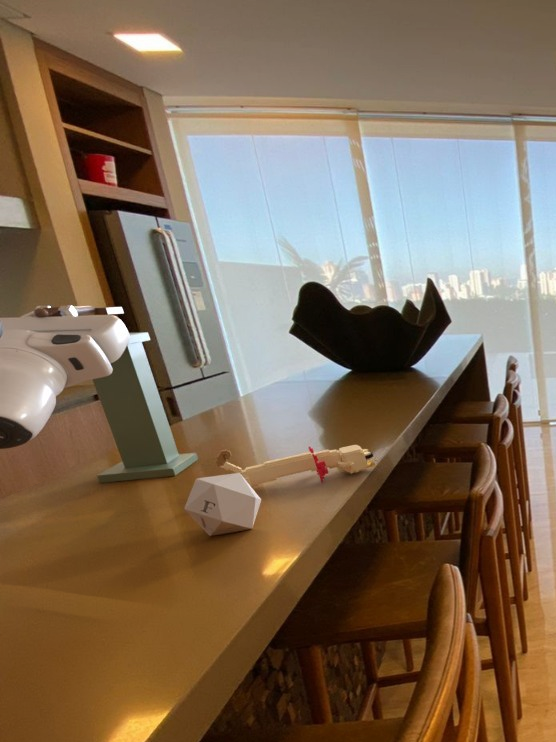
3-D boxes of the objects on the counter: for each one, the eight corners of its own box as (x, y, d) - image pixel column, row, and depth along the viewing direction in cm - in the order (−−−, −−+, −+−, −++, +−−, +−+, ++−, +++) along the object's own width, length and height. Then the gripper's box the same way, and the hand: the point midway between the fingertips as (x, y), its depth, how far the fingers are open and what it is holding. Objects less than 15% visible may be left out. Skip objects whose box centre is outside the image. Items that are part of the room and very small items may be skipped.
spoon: (58, 318, 88) (54, 307, 87) (22, 319, 86) (18, 308, 86) (124, 313, 107) (121, 304, 106) (95, 314, 105) (92, 305, 105)
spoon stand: (95, 485, 104) (37, 339, 95) (130, 465, 116) (81, 333, 107) (172, 478, 108) (124, 336, 98) (198, 459, 120) (157, 331, 110)
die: (186, 536, 84) (159, 498, 76) (225, 491, 89) (204, 451, 81) (244, 554, 85) (224, 519, 77) (279, 508, 90) (263, 471, 82)
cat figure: (230, 508, 96) (383, 470, 108) (209, 459, 92) (370, 425, 104) (229, 492, 103) (372, 458, 116) (210, 446, 100) (360, 416, 112)
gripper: (-46, 382, 83) (-10, 328, 91) (123, 374, 89) (143, 324, 97) (-81, 346, 78) (-40, 292, 86) (100, 340, 84) (123, 290, 92)
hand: (58, 309), depth 92 cm, fingers closed on spoon, 1 cm apart
